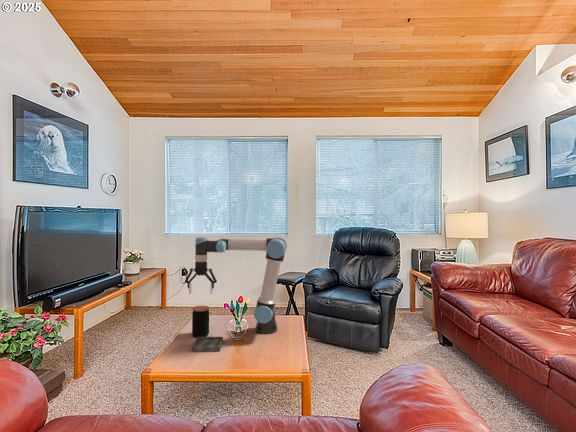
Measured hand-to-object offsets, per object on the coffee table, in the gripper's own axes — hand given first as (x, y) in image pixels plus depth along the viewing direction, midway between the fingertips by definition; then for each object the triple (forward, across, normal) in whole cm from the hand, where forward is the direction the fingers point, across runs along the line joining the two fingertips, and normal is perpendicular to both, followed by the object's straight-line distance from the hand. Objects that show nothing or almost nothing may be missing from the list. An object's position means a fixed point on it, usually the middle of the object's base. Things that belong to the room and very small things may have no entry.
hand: (200, 293), depth 219 cm
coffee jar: (+28, 0, 0) cm, 28 cm away
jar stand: (+27, -8, +18) cm, 34 cm away
